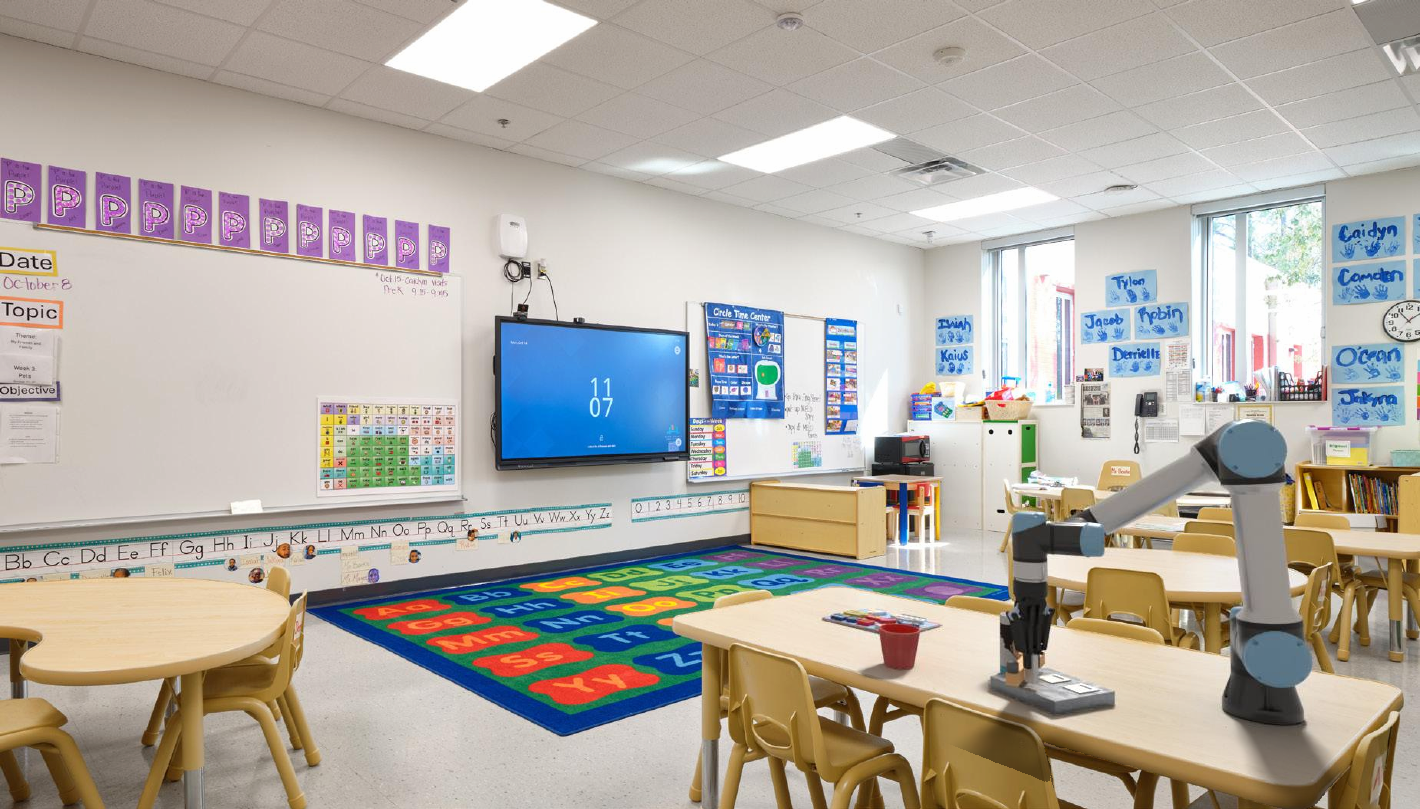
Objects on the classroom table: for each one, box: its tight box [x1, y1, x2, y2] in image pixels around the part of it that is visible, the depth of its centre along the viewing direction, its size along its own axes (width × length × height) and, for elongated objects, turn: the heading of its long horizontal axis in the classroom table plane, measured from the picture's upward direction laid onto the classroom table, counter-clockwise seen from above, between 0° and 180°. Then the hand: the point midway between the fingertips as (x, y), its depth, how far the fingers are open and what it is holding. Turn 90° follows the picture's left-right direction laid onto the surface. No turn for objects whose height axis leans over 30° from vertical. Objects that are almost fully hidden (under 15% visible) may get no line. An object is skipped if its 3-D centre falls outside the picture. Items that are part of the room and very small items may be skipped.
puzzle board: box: [821, 608, 943, 634], centre depth 268 cm, size 30×23×3 cm
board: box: [989, 667, 1116, 716], centre depth 196 cm, size 20×18×8 cm
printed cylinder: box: [999, 611, 1019, 675], centre depth 213 cm, size 7×7×15 cm
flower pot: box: [878, 624, 921, 670], centre depth 221 cm, size 11×11×10 cm
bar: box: [1006, 651, 1046, 687], centre depth 198 cm, size 23×5×5 cm, turn 147°
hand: (1031, 682), depth 192 cm, fingers closed
